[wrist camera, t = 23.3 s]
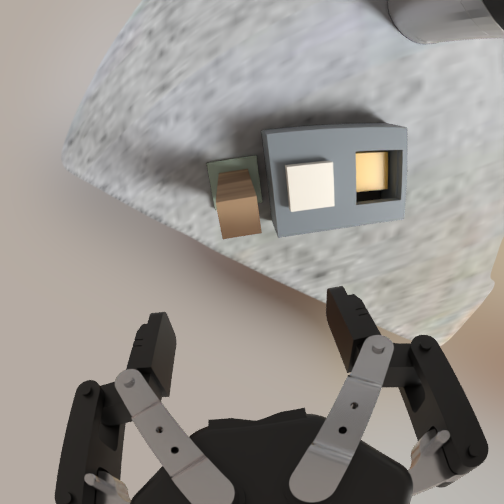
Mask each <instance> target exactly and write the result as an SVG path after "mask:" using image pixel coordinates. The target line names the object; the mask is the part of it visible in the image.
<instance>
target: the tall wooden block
mask: <svg viewBox="0 0 504 504" xmlns="http://www.w3.org/2000/svg"><path fill="white" fill-rule="evenodd" d="M216 207H217V212H218V217H219V222H220V227H221V232H222V237H223V239H227V238H233V237H239V236H246V235H252V234H258V233H262V232H261V225H260V218H259V211H258V203H257V196H256V193H255V190H254V187H253V184H252V181H251V178H250V175H249V171H248V169H242V170H236V171H229V172H224V173H219V176H218V185H217V194H216Z"/></svg>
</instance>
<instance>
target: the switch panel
mask: <svg viewBox="0 0 504 504" xmlns="http://www.w3.org/2000/svg"><path fill="white" fill-rule="evenodd" d="M261 133H262V141H263V149H264V157H265V165H266V173H267V181H268V190H269V198H270V207H271V216H272V222H273V225H274V227H275V230H276V233H277V235H278V238H280V237H286V236H293V235H300V234H306V233H313V232H319V231H326V230H333V229H340V228H347V227H353V226H360V225H367V224H374V223H381V222H388V221H395V220H402V219H404V214H405V202H406V186H407V128H406V127H402V126H398V125H393V124H388V123H353V124H327V125H311V126H298V127H287V128H277V129H268V130H261ZM377 150H384V151H386V152H388V189H383V190H381V199H378V200H369V201H361V202H356V153H355V152H356V151H377ZM319 161H331V162H333V174H334V204H335V206H332V207H324V208H317V209H309V210H302V211H295V212H291V211H290V209H289V202H288V191H287V180H286V170H285V165H291V164H299V163H309V162H319Z"/></svg>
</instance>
